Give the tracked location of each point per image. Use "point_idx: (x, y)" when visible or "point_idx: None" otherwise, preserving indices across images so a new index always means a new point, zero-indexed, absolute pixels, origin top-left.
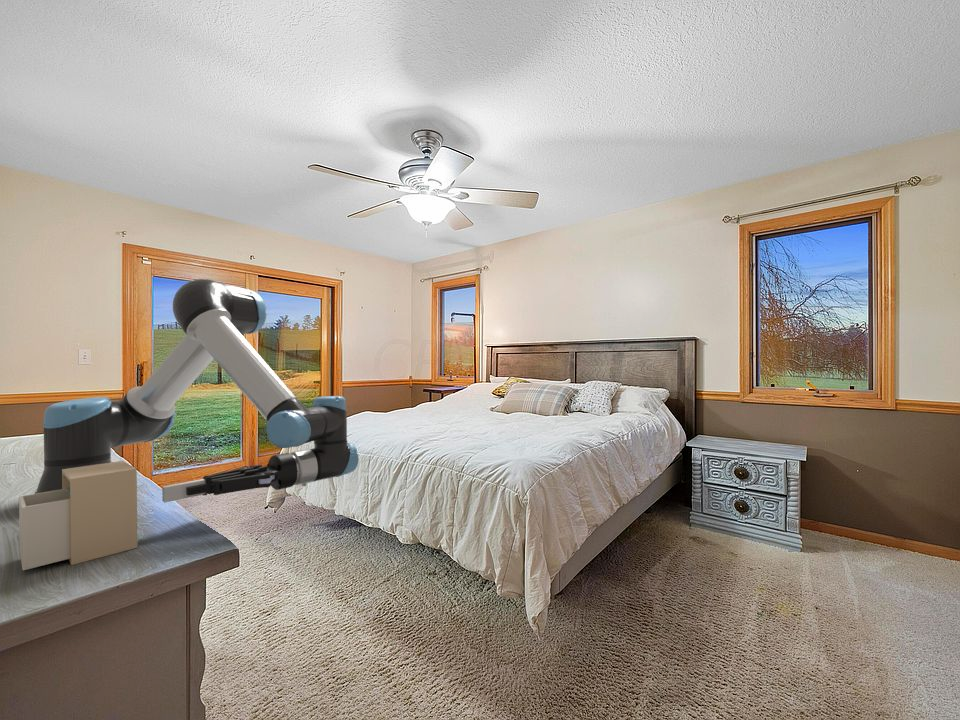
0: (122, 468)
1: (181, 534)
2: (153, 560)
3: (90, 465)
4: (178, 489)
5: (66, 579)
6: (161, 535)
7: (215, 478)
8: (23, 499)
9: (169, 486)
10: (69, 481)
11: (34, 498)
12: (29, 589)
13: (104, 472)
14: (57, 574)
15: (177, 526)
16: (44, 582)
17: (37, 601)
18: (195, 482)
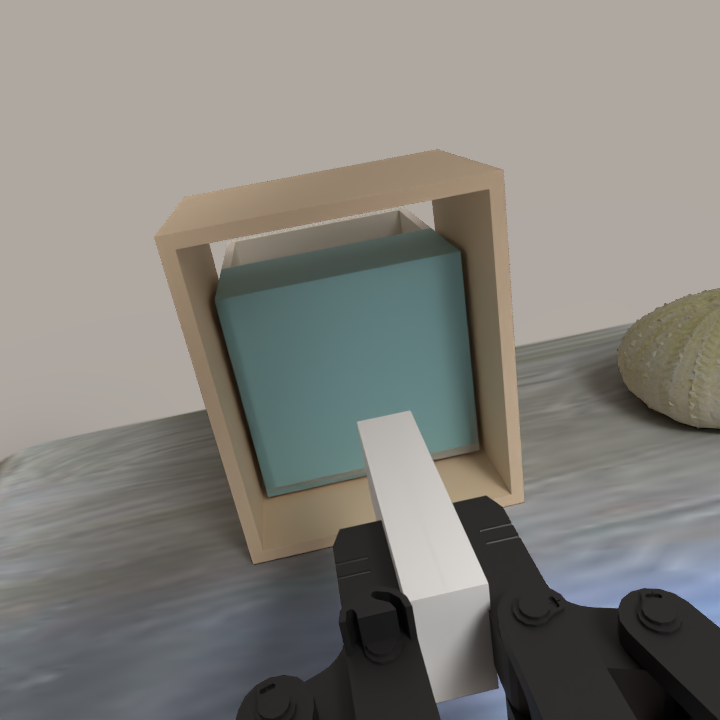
0: (236, 213)
1: None
2: (34, 624)
3: (460, 157)
4: (373, 493)
5: (144, 469)
6: None
7: (539, 712)
8: (344, 220)
9: (370, 435)
10: (436, 204)
11: (406, 227)
12: (158, 433)
13: (203, 207)
14: (208, 449)
15: None
16: (175, 443)
17: (59, 458)
18: (392, 545)
